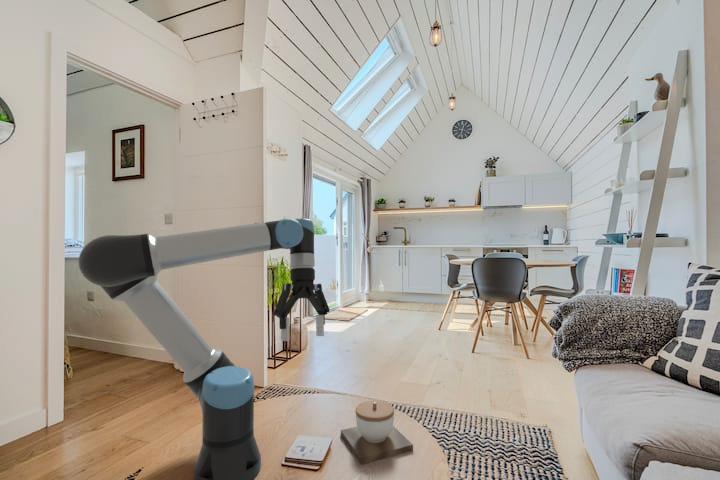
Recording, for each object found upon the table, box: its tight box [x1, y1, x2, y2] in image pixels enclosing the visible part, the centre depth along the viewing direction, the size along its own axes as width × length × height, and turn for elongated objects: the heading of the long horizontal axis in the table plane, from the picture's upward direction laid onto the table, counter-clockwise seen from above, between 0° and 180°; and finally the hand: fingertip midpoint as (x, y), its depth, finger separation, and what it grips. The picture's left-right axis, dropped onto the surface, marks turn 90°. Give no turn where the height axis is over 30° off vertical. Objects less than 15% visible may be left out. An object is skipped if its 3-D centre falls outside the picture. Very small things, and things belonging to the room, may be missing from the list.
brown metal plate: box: [340, 425, 414, 465], centre depth 96 cm, size 15×15×2 cm
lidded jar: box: [355, 400, 395, 443], centre depth 96 cm, size 11×11×9 cm
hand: (303, 338), depth 105 cm, fingers open, 13 cm apart
